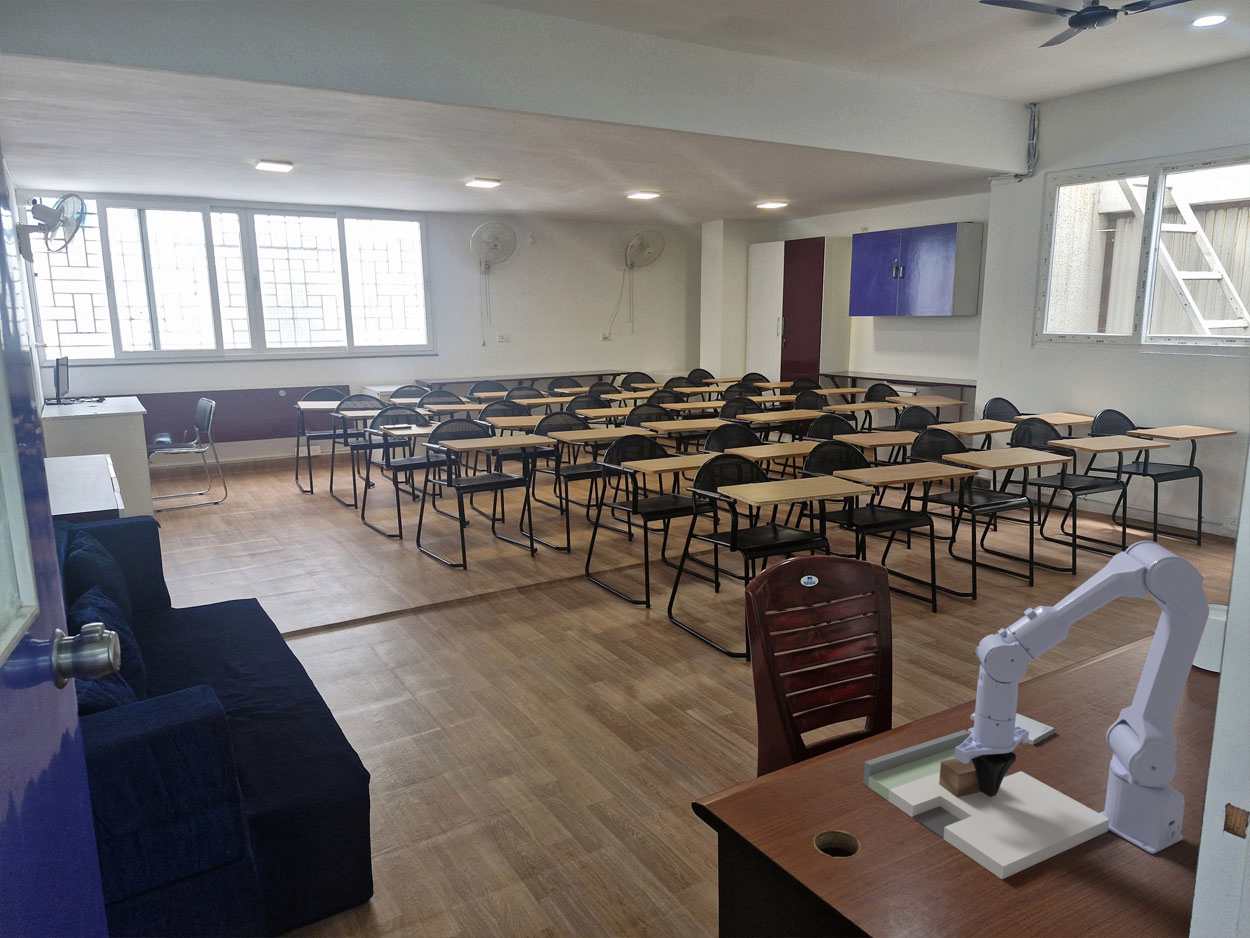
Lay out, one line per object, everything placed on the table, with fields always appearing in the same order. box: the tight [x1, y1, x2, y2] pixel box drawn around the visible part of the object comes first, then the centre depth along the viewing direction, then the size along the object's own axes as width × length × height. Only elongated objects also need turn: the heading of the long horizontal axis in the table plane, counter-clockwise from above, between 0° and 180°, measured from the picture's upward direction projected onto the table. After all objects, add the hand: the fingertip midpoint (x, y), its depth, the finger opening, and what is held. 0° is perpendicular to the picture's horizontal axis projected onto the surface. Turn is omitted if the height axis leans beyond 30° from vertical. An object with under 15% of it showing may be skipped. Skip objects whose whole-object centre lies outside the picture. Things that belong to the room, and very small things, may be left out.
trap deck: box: [862, 729, 1110, 880], centre depth 127 cm, size 27×24×4 cm
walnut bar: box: [939, 759, 981, 797], centre depth 129 cm, size 4×8×4 cm, turn 110°
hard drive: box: [969, 712, 1056, 746], centre depth 154 cm, size 2×8×12 cm
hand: (988, 792), depth 126 cm, fingers closed
